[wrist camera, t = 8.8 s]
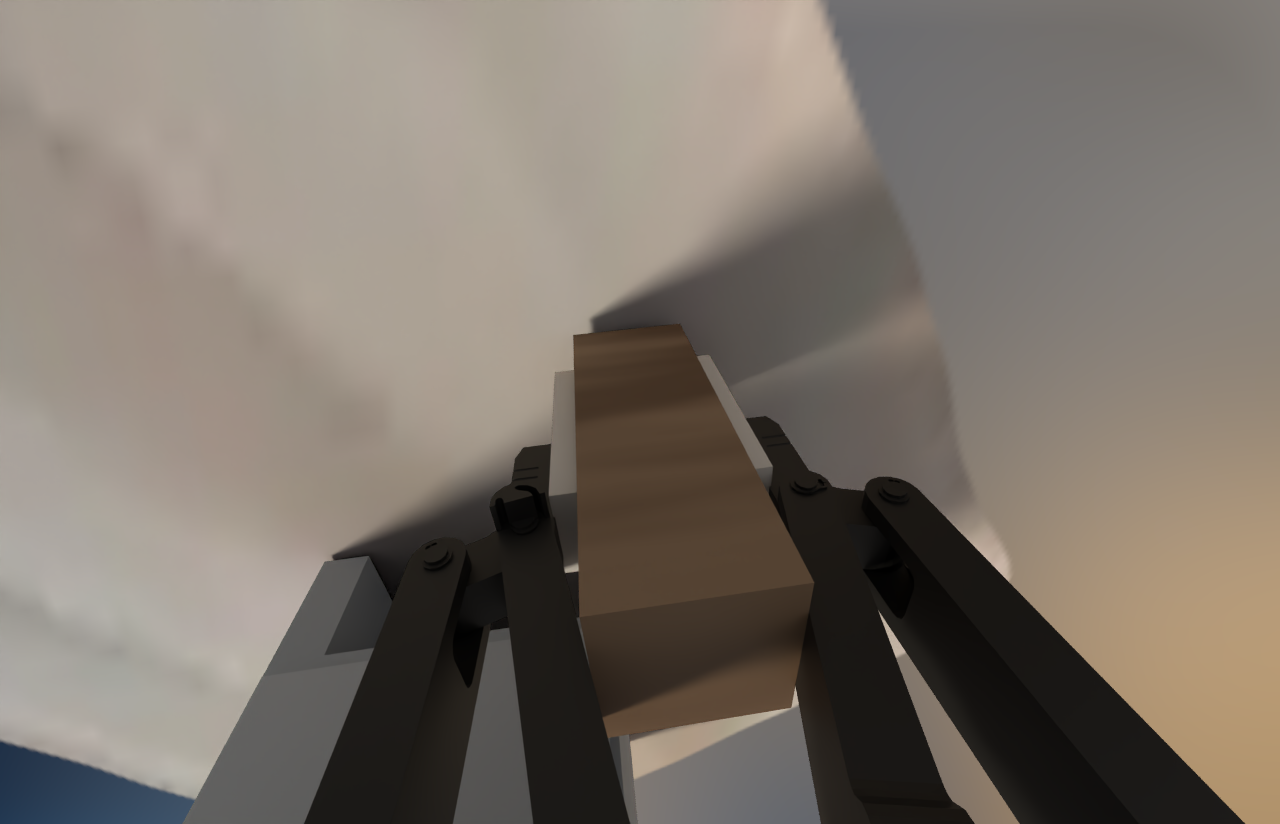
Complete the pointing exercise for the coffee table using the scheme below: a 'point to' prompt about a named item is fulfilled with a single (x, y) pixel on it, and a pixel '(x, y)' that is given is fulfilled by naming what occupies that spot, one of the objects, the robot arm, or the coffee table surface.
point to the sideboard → (320, 701)
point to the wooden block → (676, 544)
